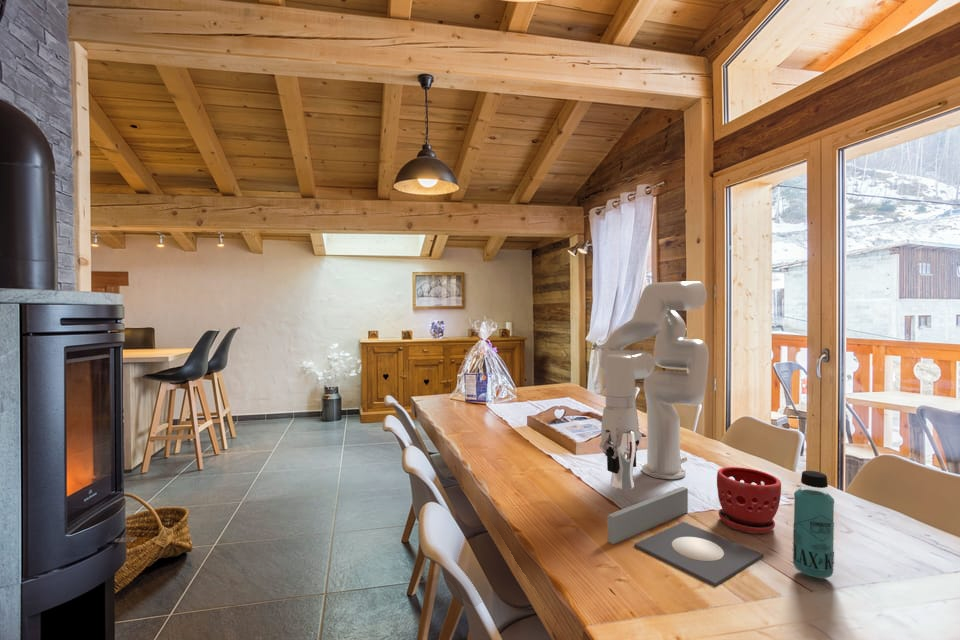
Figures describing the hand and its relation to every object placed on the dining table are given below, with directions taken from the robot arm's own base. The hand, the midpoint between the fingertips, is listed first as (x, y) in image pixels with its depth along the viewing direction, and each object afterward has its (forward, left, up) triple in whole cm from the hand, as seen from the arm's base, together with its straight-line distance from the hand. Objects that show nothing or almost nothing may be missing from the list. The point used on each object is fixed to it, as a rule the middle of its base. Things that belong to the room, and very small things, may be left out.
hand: (621, 468), depth 124 cm
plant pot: (-14, +25, -10) cm, 30 cm away
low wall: (+5, +12, -9) cm, 16 cm away
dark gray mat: (+7, +25, -9) cm, 28 cm away
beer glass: (0, 0, -5) cm, 5 cm away
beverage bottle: (-2, +43, -10) cm, 44 cm away
